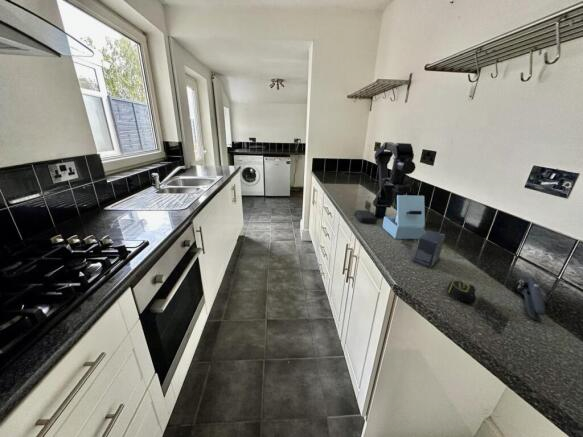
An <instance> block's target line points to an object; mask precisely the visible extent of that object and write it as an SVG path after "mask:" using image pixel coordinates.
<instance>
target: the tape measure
mask: <svg viewBox="0 0 583 437" xmlns="http://www.w3.org/2000/svg"><path fill="white" fill-rule="evenodd" d="M447 292H448V294H449V295H450V296H451V297H452V298H453V299H455V300H457V301H460V302H464V303H468V304H473V305H474V303H475V302H476V299H477V296H476V288H475V285H472V284H468V283H466V282H464V281H461V280H452V281H450V282H449V283H448V286H447Z"/></svg>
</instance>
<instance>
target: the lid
mask: <svg viewBox="0 0 583 437" xmlns="http://www.w3.org/2000/svg"><path fill="white" fill-rule="evenodd" d="M425 212H426V211H425V195H407V194H406V195H405V194H404V195H397V204H396V216H397V226H407V227H424V228H425V227H426V220H425V219H426V217H425V216H426V215H425Z"/></svg>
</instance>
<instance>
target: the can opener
mask: <svg viewBox="0 0 583 437" xmlns="http://www.w3.org/2000/svg"><path fill="white" fill-rule="evenodd" d="M517 283H519V284H518V286H516V288H515V290H516V291H517V292H518V293H519V294H521V295H522V296H523V297H524V303H525V309H526V312H527V314H528V317H529V318H530V319H531V320H533V321H536V322H538V321H540V316H546V306H545V304H546V302H547V301H548V300H547V299H548V297H547V293H546V291H545V290H544V289H543V288H541V287H540V286H539V285H538V283H537V280H536V278H534V277H532V276H526V277H525V278H524V279H519V280H518V282H517Z"/></svg>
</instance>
